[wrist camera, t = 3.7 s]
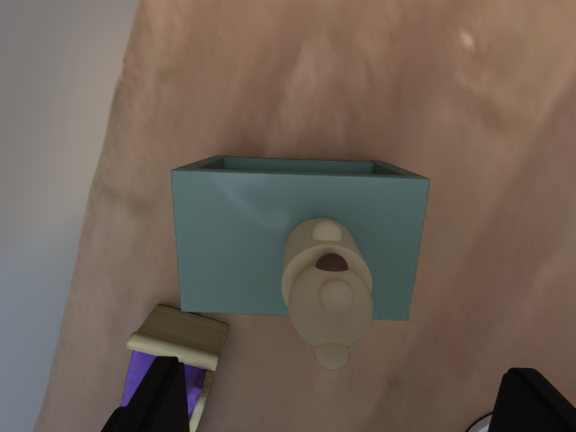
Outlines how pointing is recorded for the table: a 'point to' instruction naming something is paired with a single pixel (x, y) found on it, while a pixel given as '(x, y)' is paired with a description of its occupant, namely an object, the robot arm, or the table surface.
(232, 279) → the green open cabinet
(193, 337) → the toy sofa
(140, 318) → the table surface
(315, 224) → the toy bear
